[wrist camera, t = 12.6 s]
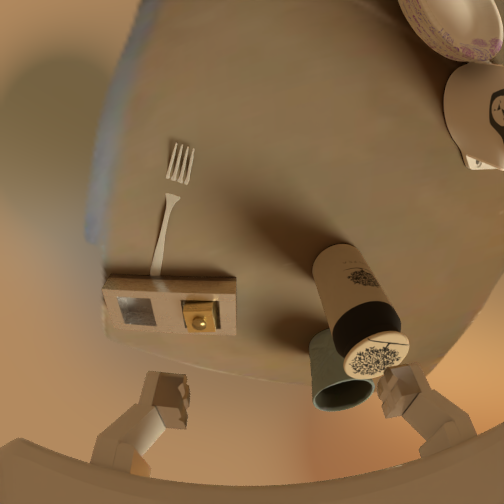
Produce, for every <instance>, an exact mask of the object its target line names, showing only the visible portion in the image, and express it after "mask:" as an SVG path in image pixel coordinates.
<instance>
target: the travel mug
mask: <svg viewBox="0 0 504 504" xmlns="http://www.w3.org/2000/svg"><path fill="white" fill-rule="evenodd" d="M312 273H313V277H314V280H315V283H316V286H317V290H318V293H319V296H320V299H321V302H322V305H323V308H324V312H325V315H326V318H327V321H328V325H329V328H330V331H331V335H332V338H333V341H334V345H335V348H336V351H337V352H338V354H339V355H340V356H342V357H343V358H344V359H345V360H344V364H343V367H344V371H345V372H346V374H347V375H349V376H350V377H352V378H355V379H371V378H375V377H378V376H381V375H383V374H384V373H383V372H384V370H385V368H387V367H390V366H396V365H398V364H400V363H401V361H402V360H403V359H404V358H405V356H406V354H407V352H408V350H409V340H408V338H407V337H406V336H405V335H404V334H403V333H400V331H401V321H400V319H399V317H398V315H397V313H396V311H395V310H394V308H393V306H392V304H391V303H390V301H389V299H388V297H387V296H386V294H385V292H384V290H383V289H382V287H381V285H380V284H379V282H378V280H377V279H376V277H375V275H374V274H373V272H372V270H371V269H370V267H369V266H368V264H367V262H366V261H365V259H364V258H363V256H362V254H361V253H360V251H359V250H358V249H357V248H355V247H353V246H351V245H348V244H337V245H333V246H331V247H328V248H327V249H325V250H324V251H322V252H321V253H320V254H319V255H318V257H317V258H316V260H315V262H314V264H313V269H312Z"/></svg>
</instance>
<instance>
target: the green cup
mask: <svg viewBox="0 0 504 504" xmlns="http://www.w3.org/2000/svg"><path fill="white" fill-rule="evenodd" d="M309 355H310V362H311V363H310V364H311V376H312V397H313V398H312V399H313V404H314V406H315V407H316V408H318V409H320V410H323V411H340V410H345V409H349V408H352V407H355V406H357V405H359V404H361V403H363V402H364V401H365V400H367V399H368V398H369V397H370V396H371V395H372V393H373V391H374V388H375V386H374V383H373V381H372V378H371V379H355V378H352V377H350V376H349V375H347V374H346V372H345V371H344V367H343V364H344V360H345V359H344V358H343V357H342V356H340V355H339V354H338V352H337V351H336V348H335V345H334V341H333V338H332V335H331V331H330V328H329V329H326V330H323V331H321V332H319V333H318V334H317V335H315V336H314V337H313V339H312V340H311V342H310V345H309Z"/></svg>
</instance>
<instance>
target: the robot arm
mask: <svg viewBox="0 0 504 504" xmlns="http://www.w3.org/2000/svg"><path fill="white" fill-rule="evenodd" d="M444 114H445V120H446V124H447V127H448V130H449V132H450V134H451V136H452V138H453V140H454V141H455V143H456V144H457V145H458V147H459V148H460V150H461V152H462V156H463V160H464V163H465V166H466V167H467V168H469V169H472V170H476V169H500V170H503V171H504V65H498V64H493V63H491V62H490V61H489V60H487V61H479V62H475V61H472V62H469V63H468V64H466V65H463V66H461V67H459V68H457V69H456V70H455V71H454V72H453V73H452V74H451V76H450V77H449V79H448V82H447V84H446V88H445V92H444ZM476 160H477V162H476ZM383 373H384V376H382V377H381V378H380V379H379V381H378V383H377V394H378V397H379V399H380V400H382V401H383V404H382V409H383V412H384V415H385V418H392V417H397V416H402V417H403V418H404V419H405V420H406V421H407V422H408V423H409V424H410V425H411V426H412V427H413V428H414V429H415V430H416V431H417V432H418V433H419V434H420V435H421V436H422V437H423V438H424V439H425V440H426V442H425V443H424V444H423V445H422V446H421V447H420V448H419V452H420V456H421V458H420V459H417V460H414V461H410V462H407V463H404V464H400V465H397V466H393V467H390V468H386V469H382V470H378V471H374V472H369V473H365V474H360V475H355V476H350V477H344V478H338V479H332V480H326V481H318V482H310V483H300V484H288V485H271V486H223V485H206V484H194V483H184V482H176V481H169V480H162V479H156V478H150V473H151V467H150V466H149V465H148V464H147V462H146V461H145V460H144V459H143V458H142V456H143V455H144V453H145V452H146V451H147V450H148V449H149V448H150V446H151V445H152V444H153V443H154V442H155V441H156V439H158V437H159V436H160V435H161V434H162V433H163V432H164V431H165V429H166V428H174V429H186V426H187V419H188V414H187V411H186V409H187V408H188V407H189V404H190V389H189V386H188V385H187V377H186V375H185V374H174V373H164V372H156V371H148V373H147V374H146V378H145V381H144V385H143V389H142V392H141V396H140V400H139V404H134V405H133V406H132V407H131V408H130V409H128V410H127V411H126V412H125V413H124V414H123V415H121V416H120V417H119V418H118V419H117V420H116V421H115V422H114V423H112V424H111V425H110V426H109V427H108V428H106V429H105V430H104V431H103V432H102V433H101V434H99V435H98V436H97V440H96V443H95V447H94V450H93V454H92V458H91V461H90V463H87V462H84V461H81V460H78V459H75V458H72V457H68V456H66V455H63V454H60V453H58V452H55V451H52V450H50V449H47V448H45V447H42V446H40V445H38V444H35V443H33V442H31V441H29V440H26V439H23V438H17V439H14V440H13V441H11V442H9V443H7V444H6V445H4V446H2V447H1V448H0V504H504V422H503V423H501V424H499V425H497V426H495V427H493V428H491V429H489V430H488V431H485V432H484V433H481V434H480V435H477V433H476V431H475V429H474V426H473V424H472V422H471V420H470V417H469V415H468V414H467V413H466V412H465V411H463V410H462V409H460V408H459V407H458V406H456V405H455V404H453V403H452V402H451V401H449V400H448V399H446V398H445V397H444V396H442V395H441V394H440V393H438V392H437V391H435V390H431V388H430V386H429V384H428V382H427V379H426V377H425V375H424V373H423V371H422V369H421V367H420V365H419V364H418V363H417V362H414V363H409V364H402V365H396V366H390V367H387V368H385V370H384V372H383Z"/></svg>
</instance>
